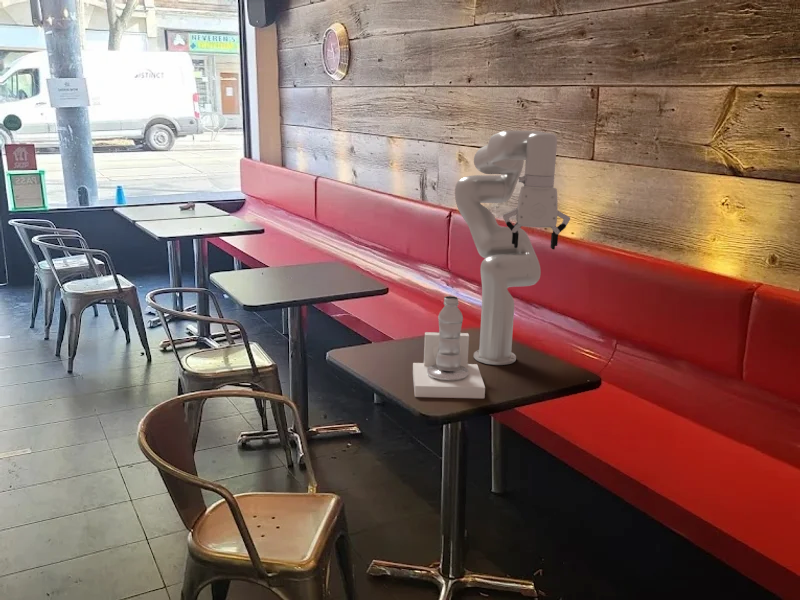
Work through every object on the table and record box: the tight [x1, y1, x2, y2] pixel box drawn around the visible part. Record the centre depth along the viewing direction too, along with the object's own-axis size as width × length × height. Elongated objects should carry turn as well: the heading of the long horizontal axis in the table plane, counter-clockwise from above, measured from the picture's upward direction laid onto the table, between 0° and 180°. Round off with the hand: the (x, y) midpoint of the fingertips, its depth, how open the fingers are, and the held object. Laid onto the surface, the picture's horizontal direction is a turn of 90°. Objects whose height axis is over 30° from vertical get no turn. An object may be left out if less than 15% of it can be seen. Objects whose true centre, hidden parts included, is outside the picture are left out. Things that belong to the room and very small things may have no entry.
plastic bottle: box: [436, 295, 464, 371], centre depth 199 cm, size 6×7×20 cm
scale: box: [412, 331, 486, 399], centre depth 201 cm, size 18×18×12 cm
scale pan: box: [427, 364, 468, 381], centre depth 201 cm, size 11×11×1 cm
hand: (534, 247), depth 197 cm, fingers open, 9 cm apart
